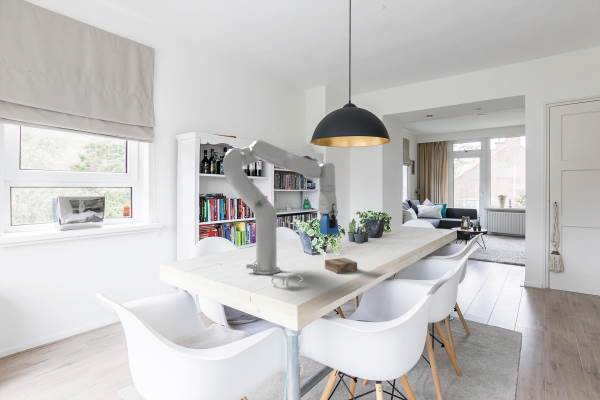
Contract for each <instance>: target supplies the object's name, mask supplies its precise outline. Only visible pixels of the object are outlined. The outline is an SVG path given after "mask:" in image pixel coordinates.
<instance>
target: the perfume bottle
mask: <svg viewBox="0 0 600 400" xmlns="http://www.w3.org/2000/svg"><path fill="white" fill-rule="evenodd" d="M330 213H332V212H330ZM331 216H332V215H331ZM329 220H330V217H329V214H325V215H322V217H321V216H320V219H319V221H318V223H319V234H320V235H325V236H328V235H329V236H330V235H337V234H339V230H338V229H339V226H338V224H339V223H338V219H337V218H336V228H329Z"/></svg>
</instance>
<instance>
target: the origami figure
mask: <svg viewBox="0 0 600 400" xmlns="http://www.w3.org/2000/svg"><path fill="white" fill-rule="evenodd" d="M295 276H297V277H298V278H300V280H299V281H298V282H297V286H300V283H301V282H302V281H303V280H304V278H303V276H301V274H300V273H299V272H278V273H275V274H272V277H271V280H270V282H271V283H272V284H273V287H276V285H277V284H276V283H275V282H273V281H274V280H275V278H276V277H277V278H280V279H281V281H282V283H281V284H282V285H286V287H285V290H288V289H289V278H291V277H295Z"/></svg>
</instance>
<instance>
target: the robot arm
mask: <svg viewBox="0 0 600 400" xmlns="http://www.w3.org/2000/svg"><path fill="white" fill-rule="evenodd" d="M259 161H262V162H265V163H267V164H269V165H272V166H274V167H277V168H280V169H283V170H288V171H292V172H295V173H297V174H300V175H302V176H303V177H304V178H305V179H308V180H315V179H318V180H319V182H318V183H319V187H318V188H319V193H318V194H319V195H318V212H319V214H320V218H321V217H322V215H325V214H329V217H330V220H329V228H336V219H337V216H338V212H339V211H338V205H337V204H338V203H337V194H336V166H335V164H334V163H332V162H324V163H320V164H319V163H318V162H315V161H313V160H311V159H308V158H307V157H303V156H302V155H299V154H296V153H293V152H291V151H288V150H285V149H284V148H281V147H278V146H276V145H274V144H272V143H269V142H267V141H264V140H262V139H257V140H255V141H253V142H252V143H251V144H250V145H247V146H246V147H243V148H235V147H233V148H230V149H228V150H227V152H226V153H225V155H224V157H223V160H222V171H223V175H224V177H225V179H226V180H227V182H228V183H229V185H231V187H232V188H233V190H234V192H236V194H237V195H238V196H239V198H240V199H241V201H242V202H243V203H244V204H245V205H246V206H247V207H248V208H249V209H250V211H251V213H252V214H254V215H255V261H253V262H252V263H247V264H245V269H246V270H252V273H254V274H256V275H274V274H279V273H280V272H281V267H279V266H277V263H278V260H277V251H278V249H277V248H278V247H277V222H278V219H277V218H278V214H277V209H276V208H275V206H273V204H272V203H271V202H270V201H269V199H267V197H266V196H265V194H264V193H263V192H262V191H261V190H260V188H259V187H257V186H256V185H255V184H254V183H253V181H252V180H251V179H250V177H249V176H248V174H247V173H246V172H245V171H244V169H243V167H246V166H249V165H251V164H254V163H258V162H259ZM330 212H332V213H330ZM331 215H332V216H331Z"/></svg>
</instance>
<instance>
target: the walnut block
mask: <svg viewBox="0 0 600 400" xmlns="http://www.w3.org/2000/svg"><path fill="white" fill-rule="evenodd" d="M324 269H326V270H328V271H330V272H333V273H335V274H345V273H351V272H353V273H354V272H357V271H358V262H357V261H355V260H351V259H349V258H346V257H340V258H339V257H338V258H333V259H330V258H329V259H325V260H324Z"/></svg>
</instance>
